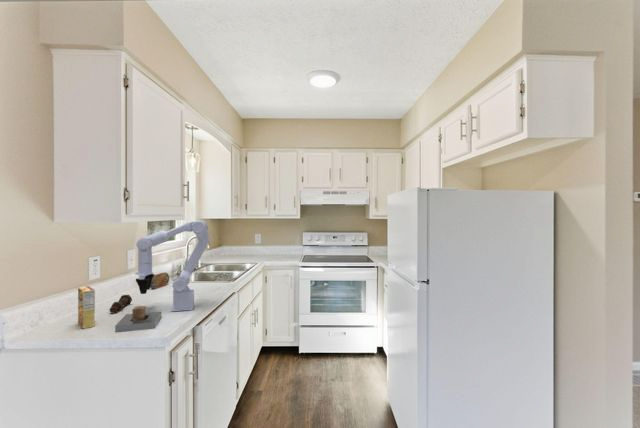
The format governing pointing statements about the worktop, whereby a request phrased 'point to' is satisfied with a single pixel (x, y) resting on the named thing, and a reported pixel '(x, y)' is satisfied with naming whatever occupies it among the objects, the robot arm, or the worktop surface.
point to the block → (139, 313)
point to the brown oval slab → (159, 280)
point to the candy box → (86, 307)
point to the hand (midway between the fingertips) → (145, 291)
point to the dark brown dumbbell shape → (120, 303)
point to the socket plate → (138, 322)
